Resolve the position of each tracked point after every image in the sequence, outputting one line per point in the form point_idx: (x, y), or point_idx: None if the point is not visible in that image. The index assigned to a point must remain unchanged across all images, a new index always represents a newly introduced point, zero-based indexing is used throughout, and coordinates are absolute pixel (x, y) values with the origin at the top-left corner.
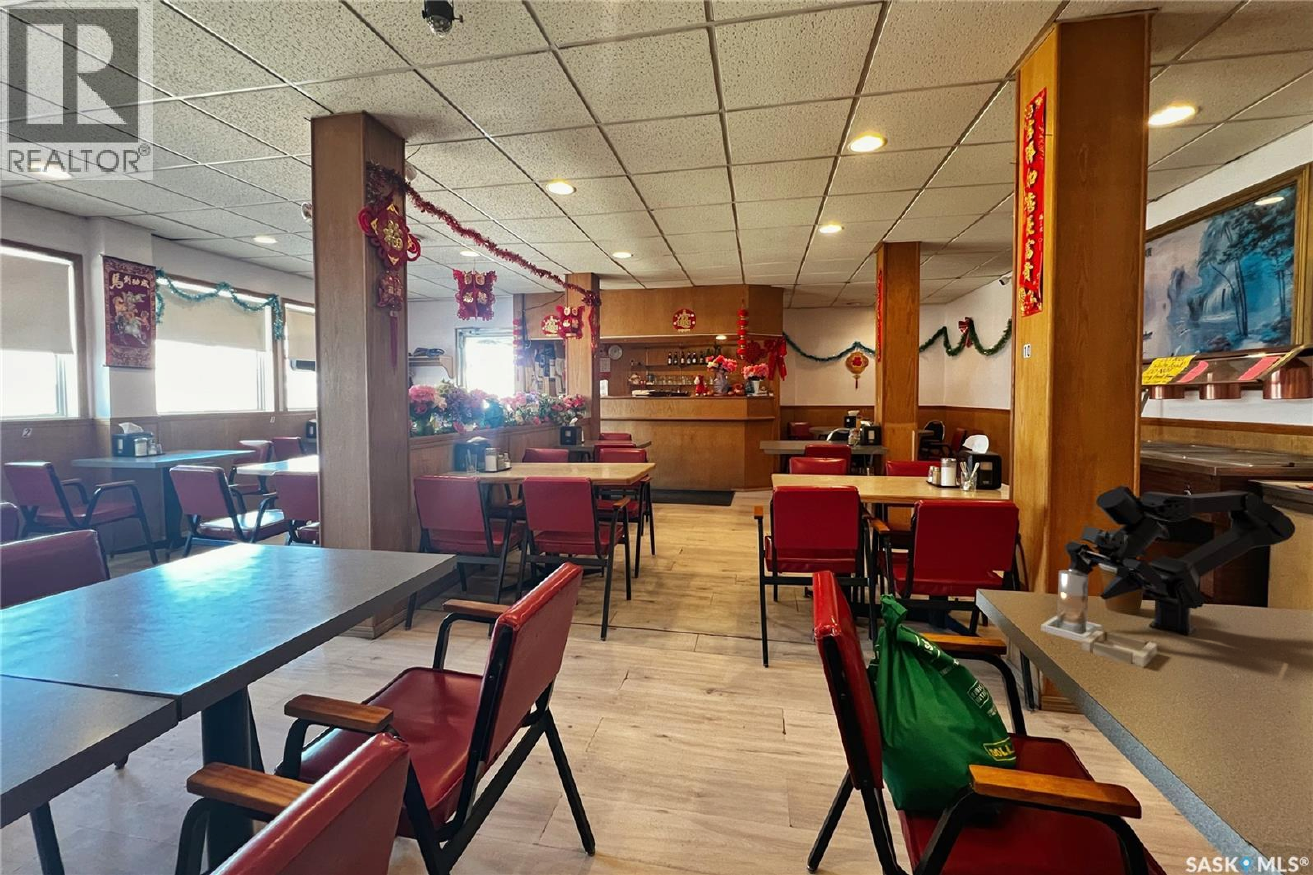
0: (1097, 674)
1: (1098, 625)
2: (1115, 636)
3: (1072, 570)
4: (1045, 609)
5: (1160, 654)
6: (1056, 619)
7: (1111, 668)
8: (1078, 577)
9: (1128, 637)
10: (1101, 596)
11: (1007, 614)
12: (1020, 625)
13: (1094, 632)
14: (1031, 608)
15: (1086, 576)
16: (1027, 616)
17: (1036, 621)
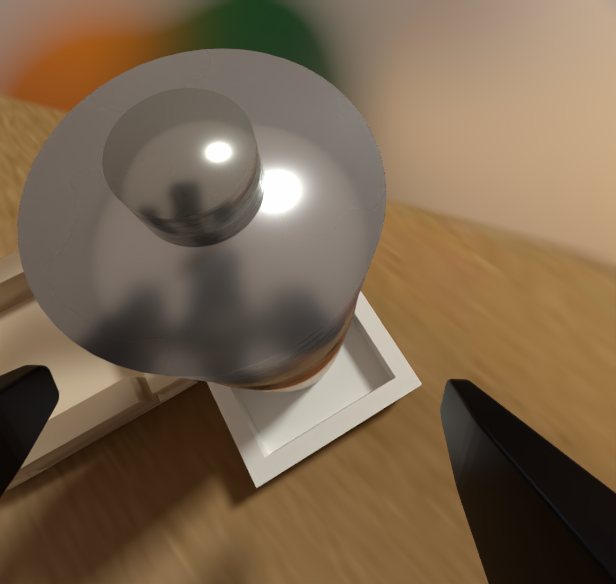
0: (8, 163)
1: (255, 465)
2: (100, 393)
3: (151, 104)
4: (595, 470)
5: (19, 532)
6: (360, 323)
7: (17, 231)
8: (58, 137)
9: (59, 434)
10: (34, 365)
11: (511, 237)
12: (388, 206)
13: None
14: (604, 404)
15: (29, 254)
16: (488, 303)
17: (426, 297)
